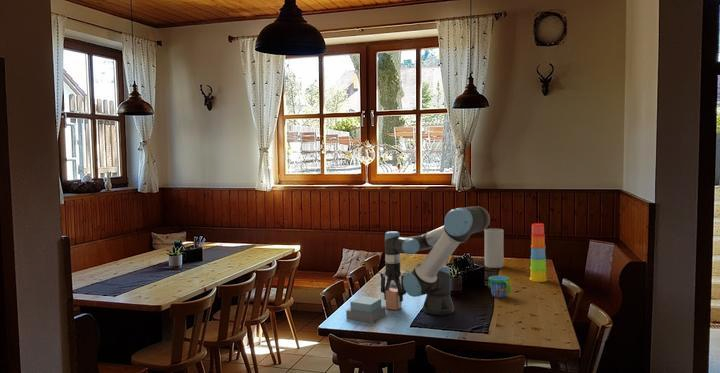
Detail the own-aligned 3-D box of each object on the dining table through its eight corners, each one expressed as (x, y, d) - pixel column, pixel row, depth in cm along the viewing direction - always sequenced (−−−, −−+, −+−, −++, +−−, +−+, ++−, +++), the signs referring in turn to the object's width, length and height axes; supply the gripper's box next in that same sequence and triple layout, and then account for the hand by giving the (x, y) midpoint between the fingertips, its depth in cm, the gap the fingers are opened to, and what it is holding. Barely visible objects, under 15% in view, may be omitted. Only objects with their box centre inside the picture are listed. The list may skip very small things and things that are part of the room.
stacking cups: (550, 280, 319) (551, 223, 317) (537, 282, 315) (537, 225, 313) (539, 277, 329) (539, 221, 326) (525, 279, 325) (525, 222, 322)
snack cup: (482, 293, 294) (482, 275, 294) (498, 291, 298) (498, 273, 297) (499, 300, 280) (499, 281, 279) (515, 298, 283) (516, 279, 283)
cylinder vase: (481, 265, 365) (481, 229, 364) (497, 263, 369) (497, 228, 367) (490, 269, 353) (490, 231, 352) (507, 267, 357) (507, 230, 355)
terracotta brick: (401, 306, 271) (401, 289, 271) (396, 309, 266) (396, 292, 265) (391, 305, 274) (390, 288, 274) (385, 308, 269) (385, 290, 268)
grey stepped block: (385, 314, 260) (385, 298, 260) (372, 322, 248) (371, 305, 247) (360, 310, 267) (360, 294, 266) (346, 318, 255) (346, 302, 254)
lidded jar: (385, 285, 315) (385, 270, 314) (391, 281, 325) (391, 266, 324) (402, 287, 311) (402, 271, 310) (408, 283, 321) (407, 267, 320)
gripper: (413, 262, 267) (413, 307, 269) (379, 259, 277) (380, 302, 278) (406, 264, 261) (407, 311, 262) (372, 262, 270) (373, 306, 271)
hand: (393, 306), depth 270 cm, fingers closed on terracotta brick, 6 cm apart
